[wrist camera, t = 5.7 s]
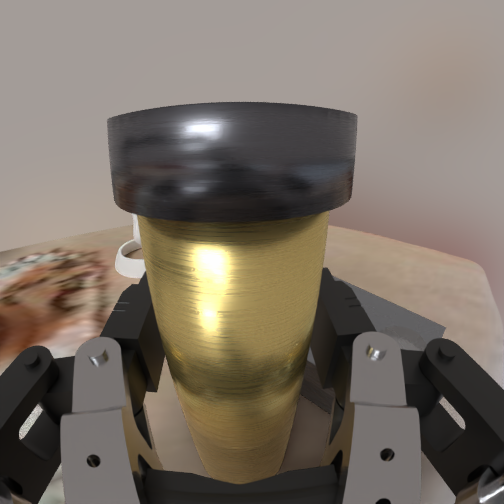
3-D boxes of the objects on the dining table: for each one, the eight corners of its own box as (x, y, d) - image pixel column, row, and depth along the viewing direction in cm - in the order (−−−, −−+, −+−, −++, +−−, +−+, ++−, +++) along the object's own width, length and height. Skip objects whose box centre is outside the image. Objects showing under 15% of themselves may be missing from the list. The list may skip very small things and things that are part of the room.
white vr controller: (132, 194, 35) (163, 165, 31) (164, 280, 34) (202, 260, 31) (83, 198, 28) (111, 162, 25) (116, 297, 28) (150, 276, 24)
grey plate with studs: (170, 291, 24) (164, 256, 23) (239, 262, 29) (239, 230, 28) (379, 443, 11) (404, 410, 10) (429, 359, 16) (448, 322, 15)
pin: (174, 446, 11) (85, 126, 5) (245, 401, 14) (242, 114, 8) (238, 513, 8) (191, 96, 2) (311, 452, 11) (394, 123, 5)
